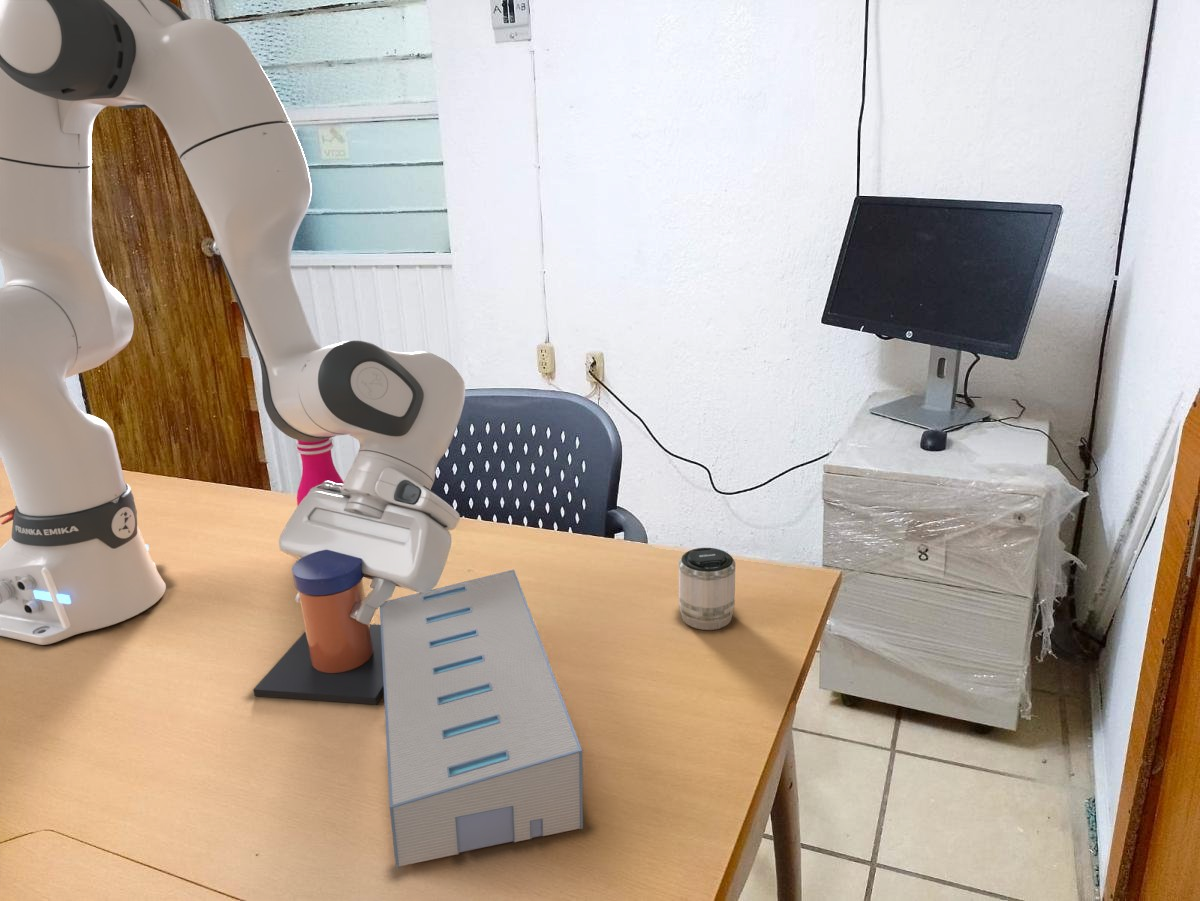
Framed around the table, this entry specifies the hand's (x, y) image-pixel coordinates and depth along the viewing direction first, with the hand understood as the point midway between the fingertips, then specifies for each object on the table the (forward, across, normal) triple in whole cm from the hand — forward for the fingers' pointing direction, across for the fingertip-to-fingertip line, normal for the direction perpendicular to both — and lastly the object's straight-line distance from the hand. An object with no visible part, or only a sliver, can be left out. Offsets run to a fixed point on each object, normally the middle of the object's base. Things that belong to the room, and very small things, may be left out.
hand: (330, 613), depth 86 cm
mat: (+4, 0, +5) cm, 6 cm away
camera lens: (-14, +31, +23) cm, 41 cm away
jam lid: (-4, 0, -3) cm, 5 cm away
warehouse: (+6, +19, +3) cm, 20 cm away
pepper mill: (-13, -28, +23) cm, 39 cm away
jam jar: (+3, 0, +4) cm, 5 cm away
